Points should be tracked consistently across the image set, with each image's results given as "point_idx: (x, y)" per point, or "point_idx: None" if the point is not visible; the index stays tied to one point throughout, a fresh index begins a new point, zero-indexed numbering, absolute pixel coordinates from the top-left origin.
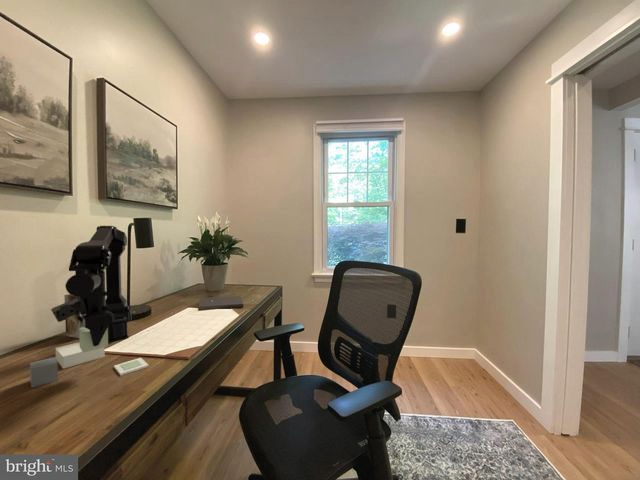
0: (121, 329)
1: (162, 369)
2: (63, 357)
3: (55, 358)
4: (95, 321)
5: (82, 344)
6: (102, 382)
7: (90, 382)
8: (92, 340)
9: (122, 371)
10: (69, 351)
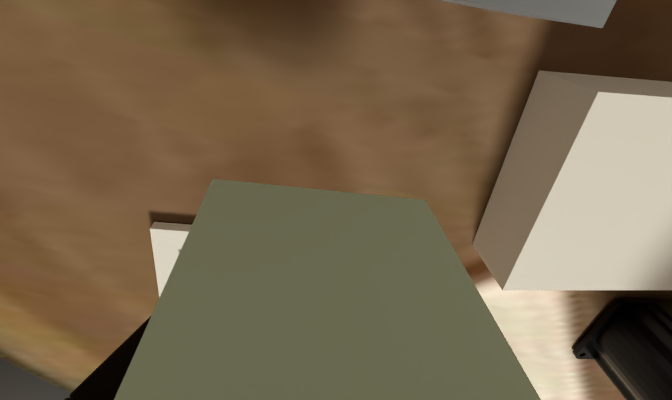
0: (627, 380)
1: (89, 332)
2: (591, 92)
3: (560, 17)
4: None
5: (238, 232)
6: (135, 146)
7: (188, 106)
8: (133, 334)
9: (173, 241)
10: (644, 149)
